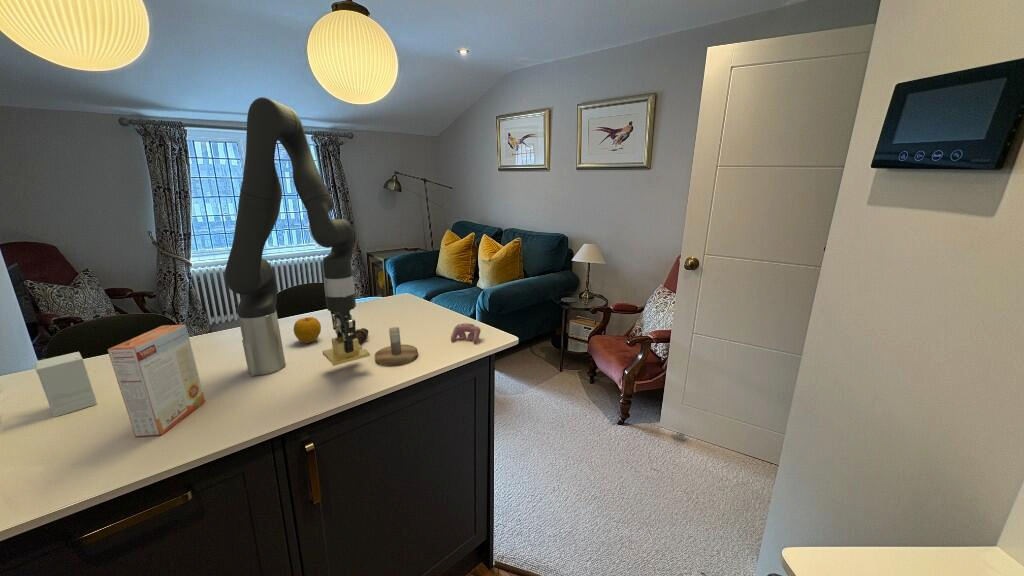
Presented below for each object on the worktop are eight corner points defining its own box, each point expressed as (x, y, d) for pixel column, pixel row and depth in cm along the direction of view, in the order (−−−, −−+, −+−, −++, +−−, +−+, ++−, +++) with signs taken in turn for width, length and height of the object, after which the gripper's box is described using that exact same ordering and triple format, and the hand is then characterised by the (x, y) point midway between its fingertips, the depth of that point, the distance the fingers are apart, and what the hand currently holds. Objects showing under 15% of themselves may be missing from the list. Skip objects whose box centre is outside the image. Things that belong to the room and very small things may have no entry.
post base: (417, 363, 116) (414, 334, 114) (372, 368, 114) (369, 338, 111) (418, 347, 129) (416, 320, 126) (378, 350, 126) (375, 323, 124)
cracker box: (181, 403, 96) (161, 324, 91) (206, 402, 96) (188, 323, 91) (131, 438, 82) (105, 347, 77) (161, 436, 83) (136, 346, 78)
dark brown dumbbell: (367, 341, 139) (354, 357, 125) (354, 335, 139) (339, 350, 124) (374, 327, 139) (361, 342, 124) (361, 321, 138) (347, 335, 123)
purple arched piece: (480, 345, 134) (482, 325, 135) (476, 343, 130) (478, 323, 131) (454, 342, 136) (456, 323, 138) (449, 341, 132) (451, 321, 134)
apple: (312, 347, 130) (308, 322, 127) (289, 346, 131) (285, 321, 129) (327, 338, 138) (324, 314, 135) (306, 336, 139) (302, 313, 137)
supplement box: (94, 395, 100) (80, 350, 97) (97, 404, 96) (83, 358, 93) (51, 407, 95) (35, 360, 92) (52, 418, 90) (35, 369, 87)
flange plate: (333, 365, 104) (331, 348, 103) (322, 354, 112) (321, 338, 111) (370, 356, 111) (368, 340, 110) (357, 345, 118) (356, 330, 117)
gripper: (318, 289, 110) (324, 344, 114) (333, 300, 99) (340, 360, 103) (345, 285, 114) (350, 338, 119) (363, 295, 104) (368, 353, 108)
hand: (345, 348), depth 111 cm, fingers closed on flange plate, 5 cm apart
